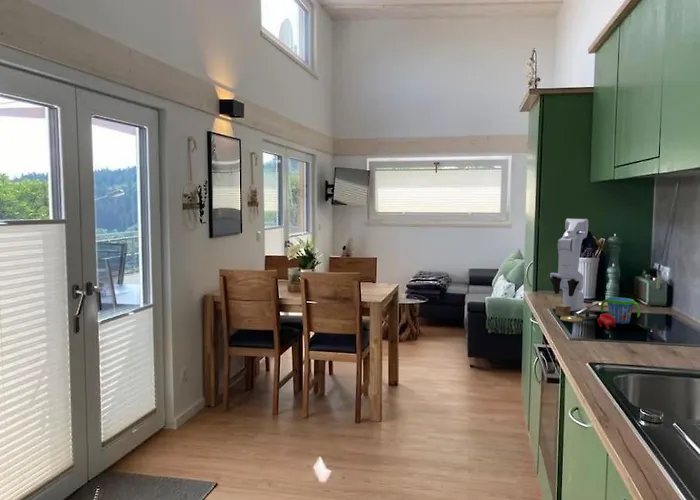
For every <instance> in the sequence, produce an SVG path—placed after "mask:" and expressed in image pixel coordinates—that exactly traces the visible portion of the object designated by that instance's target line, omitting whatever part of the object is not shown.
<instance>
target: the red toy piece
mask: <svg viewBox="0 0 700 500" xmlns="http://www.w3.org/2000/svg"><path fill="white" fill-rule="evenodd" d="M596 319H597V323H598V325H599V328H602V327H603V325H604V326H605V328H606V329H607V330H609V329H610V327H609V325H610V326H611V327H613V328H616V323H615V319H614V318H613V317H612V316H611V315H609V313H604V312H603V313H602V314H600V315H599V317H597V318H596Z"/></svg>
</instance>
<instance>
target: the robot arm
mask: <svg viewBox="0 0 700 500" xmlns="http://www.w3.org/2000/svg"><path fill="white" fill-rule="evenodd" d="M564 229H565V232H564V233H563V235H562V237H560V238H559V239H558V240H557V254H558V268H557V272H550V273H549V278H550V279H549V280H550V282H551V284H552V287H553V291H554V294H555V295H557V294H560V290H562V304H563V305H568V306H571V312H574V311H580V310H582V309H584V308H585V307H584V302H585V301H584V299H585V298H584V297H585V296H584V292H582V291H583V289H584V275H583V274H582V273H581V272H580V271H579V267H580V259H581V249H582V243H583V240H584V239H586V238H587V236H588V233H589V232H588V231H589V219H588V218H566V219H565V223H564Z"/></svg>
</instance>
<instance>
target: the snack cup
mask: <svg viewBox="0 0 700 500" xmlns="http://www.w3.org/2000/svg"><path fill="white" fill-rule="evenodd" d="M601 302H602V304H601V307H600V312H601V313H602V314H604V307H603V304H604V303H605V302H607V303H608V307H607V308H608V314H609V315H611V316H612V317H613V318H614V319H615V324H619V325H625V324H626V325H627V324H629V323H630V321H631V316H632V311H633V307H634V305H635V306H636V308H637V314H636V317H637V318H639V317H640V316H641V307H640V305H639V303H638V302H636V301H635V300H634V299H632V298H627V297H617V296H616V297H615V296H614V297H612V296H611V297H608V298H607V297H606V299H604V300H602V301H601Z"/></svg>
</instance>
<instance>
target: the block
mask: <svg viewBox="0 0 700 500" xmlns="http://www.w3.org/2000/svg"><path fill="white" fill-rule="evenodd" d="M571 312H572V311H571V306H568V305H563V303H561V304H555V316H559V317H561V316H571Z"/></svg>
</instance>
